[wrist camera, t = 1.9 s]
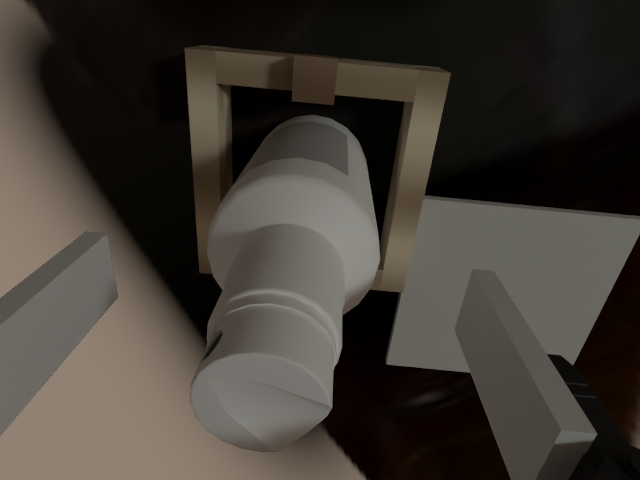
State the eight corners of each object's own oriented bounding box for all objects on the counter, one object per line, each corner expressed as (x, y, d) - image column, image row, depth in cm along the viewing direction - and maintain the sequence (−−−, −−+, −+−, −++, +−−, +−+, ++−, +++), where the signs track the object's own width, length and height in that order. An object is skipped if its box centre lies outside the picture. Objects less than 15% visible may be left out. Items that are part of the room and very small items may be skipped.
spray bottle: (300, 88, 23) (210, 224, 7) (389, 161, 25) (469, 398, 9) (236, 177, 26) (70, 415, 10) (321, 237, 28) (291, 522, 12)
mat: (420, 195, 26) (421, 198, 25) (640, 216, 26) (646, 220, 25) (385, 358, 33) (386, 364, 32) (560, 376, 32) (564, 381, 32)
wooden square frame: (203, 40, 22) (172, 43, 18) (439, 62, 22) (459, 70, 18) (213, 252, 29) (192, 289, 25) (396, 270, 29) (405, 310, 25)
